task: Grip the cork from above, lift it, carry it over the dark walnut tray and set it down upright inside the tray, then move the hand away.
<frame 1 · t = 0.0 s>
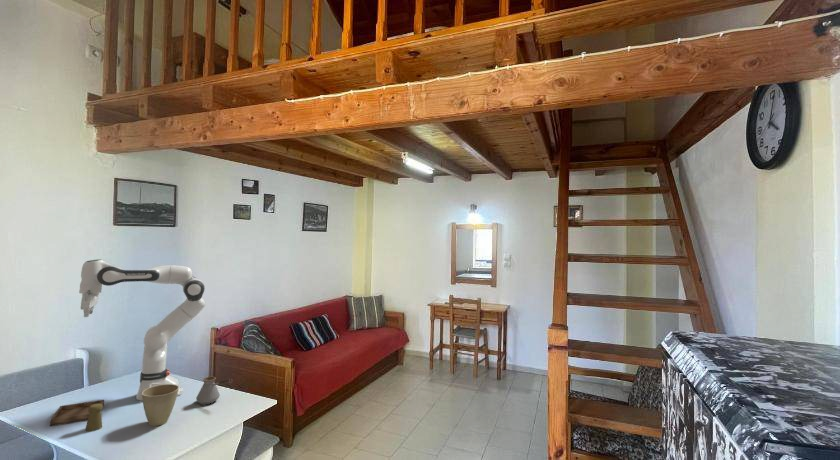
hand: (88, 315, 192), 48 cm above the table, tool pointing down, fingers open, 8 cm apart
coffee pot: (214, 403, 201), on the table
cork: (93, 428, 169), on the table
walnut tray: (78, 415, 181), on the table
plant pot: (158, 423, 177), on the table
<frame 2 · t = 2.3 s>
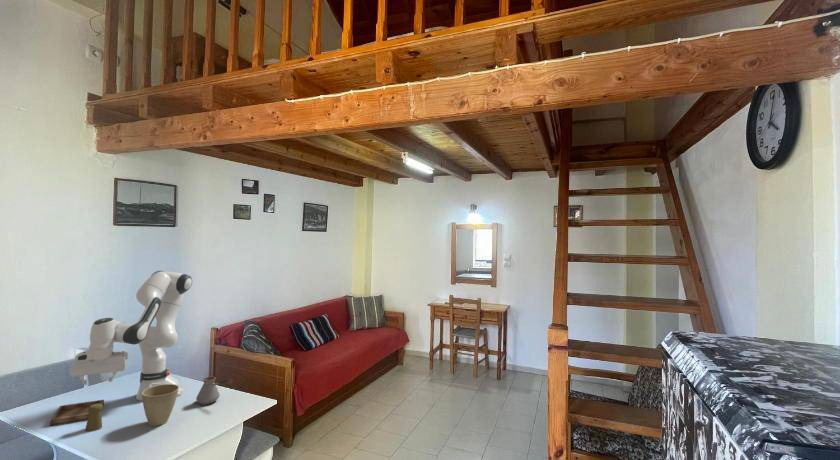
hand: (97, 382, 170), 21 cm above the table, tool pointing down, fingers open, 8 cm apart
nothing on the table moved.
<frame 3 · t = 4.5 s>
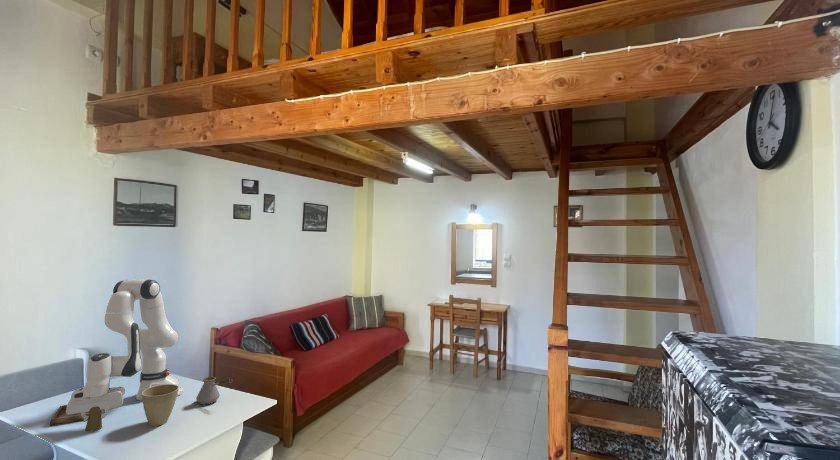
hand: (94, 419, 169), 4 cm above the table, tool pointing down, fingers closed on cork, 5 cm apart
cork: (93, 428, 169), on the table, touching gripper
everything else where it was.
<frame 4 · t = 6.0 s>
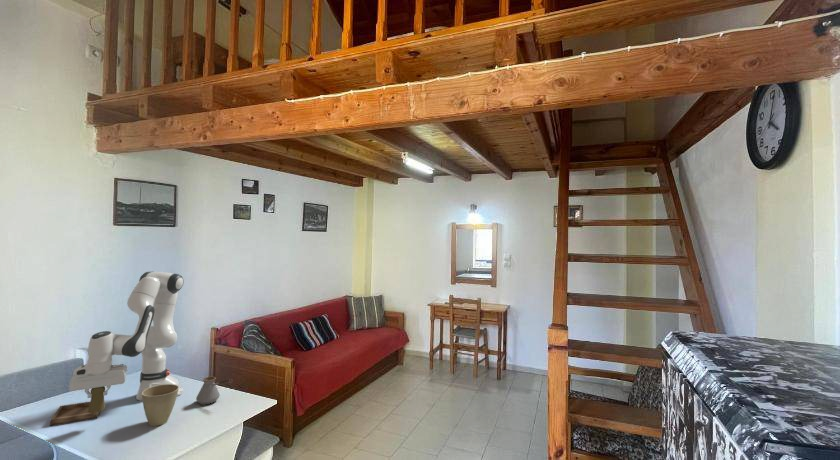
hand: (97, 396, 170), 15 cm above the table, tool pointing down, fingers closed on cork, 4 cm apart
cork: (96, 410, 170), point 8 cm above the table, touching gripper
everything else where it was.
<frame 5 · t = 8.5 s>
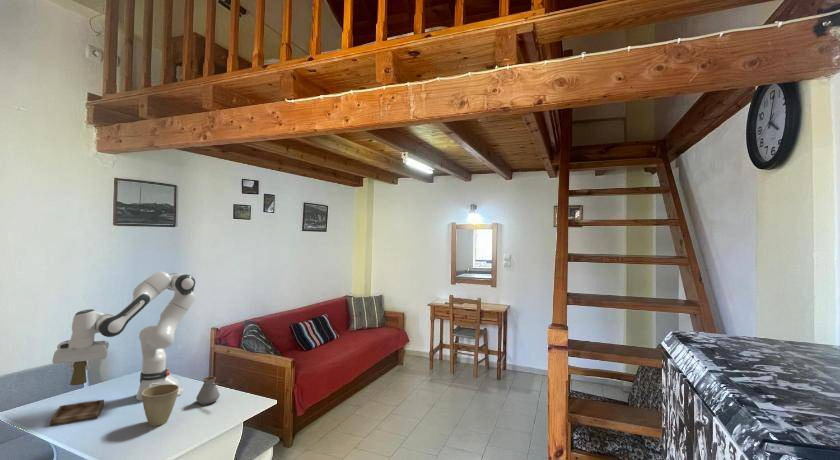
hand: (79, 370, 180), 23 cm above the table, tool pointing down, fingers closed on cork, 4 cm apart
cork: (78, 383, 180), point 16 cm above the table, touching gripper
everything else where it was.
when the fingers open (7 cm above the table, at t = 11.2 s): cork stays where it is, resting on walnut tray.
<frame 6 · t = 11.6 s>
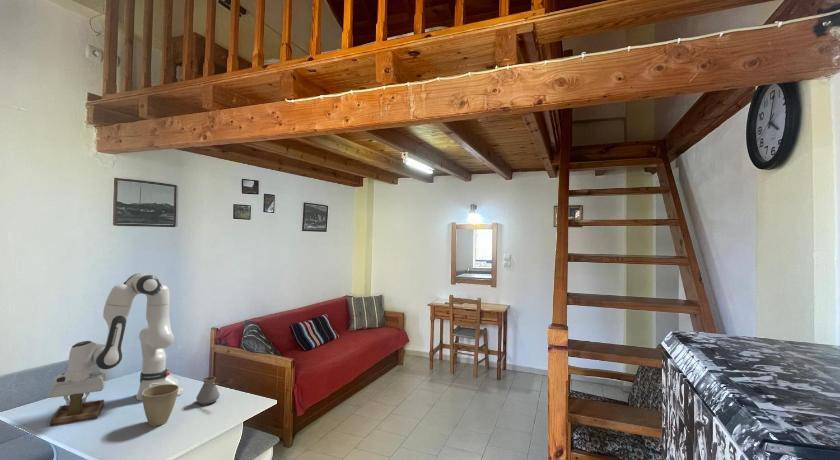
hand: (76, 402, 179), 7 cm above the table, tool pointing down, fingers open, 4 cm apart
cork: (74, 414, 179), point 1 cm above the table, touching gripper, walnut tray
everything else where it was.
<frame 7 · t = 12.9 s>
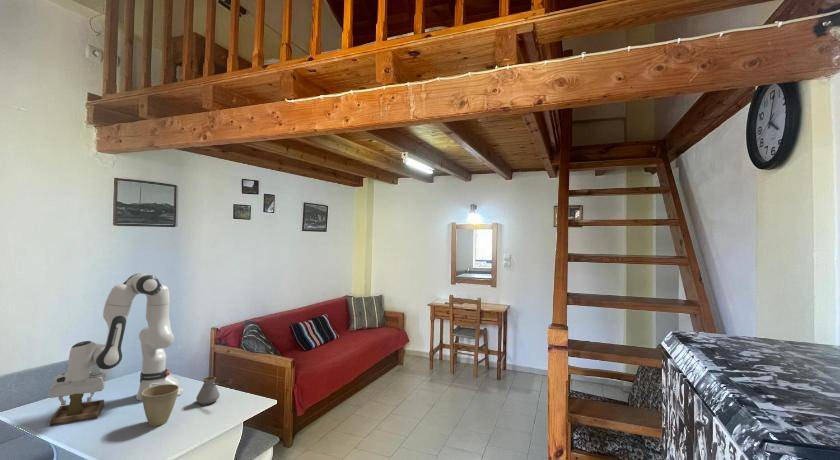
hand: (76, 402, 179), 7 cm above the table, tool pointing down, fingers open, 8 cm apart
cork: (74, 414, 179), point 1 cm above the table, touching walnut tray
everything else where it was.
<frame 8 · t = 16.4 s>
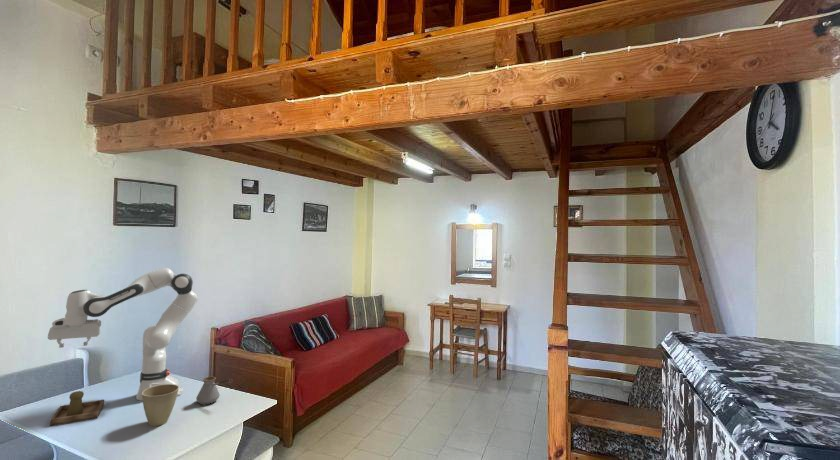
hand: (73, 346, 192), 31 cm above the table, tool pointing down, fingers open, 8 cm apart
nothing on the table moved.
at the end: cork inside the target area on the walnut tray (1.6 cm from its centre), point 0.8 cm above the walnut tray's base; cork tilted 0°; the gripper is holding nothing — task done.
